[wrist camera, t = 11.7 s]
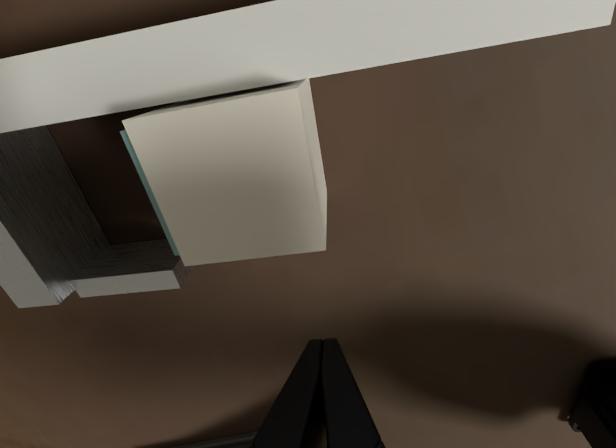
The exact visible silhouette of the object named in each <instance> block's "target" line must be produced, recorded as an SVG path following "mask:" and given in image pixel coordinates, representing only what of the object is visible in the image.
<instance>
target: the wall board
mask: <svg viewBox="0 0 616 448" xmlns="http://www.w3.org/2000/svg"><path fill="white" fill-rule="evenodd" d="M615 2H616V0H275V1H270V2H265V3H261V4H256V5H251V6H247V7H242V8H237V9H233V10H228V11H223V12H219V13H214V14H209V15H204V16H200V17H195V18H190V19H186V20H181V21H176V22H172V23H167V24H162V25H158V26H153V27H148V28H144V29H139V30H134V31H130V32H125V33H120V34H116V35H111V36H106V37H101V38H97V39H92V40H87V41H83V42H78V43H73V44H69V45H64V46H59V47H55V48H50V49H45V50H41V51H36V52H31V53H27V54H22V55H17V56H13V57H8V58H3V59H0V133H4V132H10V131H15V130H21V129H26V128H32V127H38V126H43V125H49V124H55V123H60V122H66V121H71V120H77V119H83V118H88V117H94V116H100V115H105V114H111V113H116V112H122V111H128V110H133V109H139V108H144V107H150V106H156V105H161V104H167V103H173V102H178V101H184V100H189V99H195V98H201V97H206V96H212V95H218V94H223V93H229V92H234V91H240V90H246V89H251V88H257V87H263V86H268V85H274V84H279V83H285V82H291V81H296V80H302V79H308V78H313V77H319V76H324V75H330V74H336V73H341V72H347V71H353V70H358V69H364V68H369V67H375V66H381V65H386V64H392V63H398V62H403V61H409V60H414V59H420V58H426V57H431V56H437V55H443V54H448V53H454V52H459V51H465V50H471V49H476V48H482V47H488V46H493V45H499V44H504V43H510V42H516V41H521V40H527V39H533V38H538V37H544V36H549V35H555V34H561V33H566V32H572V31H578V30H583V29H589V28H594V27H600V26H606V25H610V23H611V19H612V15H613V11H614V6H615Z"/></svg>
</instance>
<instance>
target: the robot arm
mask: <svg viewBox="0 0 616 448" xmlns="http://www.w3.org/2000/svg"><path fill="white" fill-rule="evenodd" d="M569 425H570V426H571V428H572V430H573V431H575V432H582V433H583V435H584V436H585V438H586V439H587V441H588V442H589V444H590V445H591V447H592V448H616V361H601V362H596V363H593V364H592V365H590V367H589V368H588V371H587V374H586V376H585V379H584V382H583V384H582V387H581V390H580V392H579V395H578V398H577V400H576V403H575V406H574V408H573V411H572V414H571V417H570V419H569ZM249 448H385V446H384V444H383V442H382V441H381V437H380V435H379V433H378V430H377V428H376V426H375V424H374V421H373V419H372V417H371V415H370V412H369V410H368V408H367V406H366V403H365V401H364V399H363V397H362V394H361V392H360V390H359V388H358V385H357V383H356V381H355V379H354V376H353V374H352V372H351V370H350V368H349V365H348V363H347V361H346V359H345V356H344V354H343V352H342V350H341V347H340V345H339V343H338V341H337V339H336V338H327V339H324V340H322V339H312V340H310V341H309V342H308V344H307V346H306V347H305V349H304V351H303V353H302V354H301V356H300V358H299V360H298V361H297V363H296V365H295V367H294V368H293V370H292V372H291V374H290V376H289V377H288V379H287V381H286V383H285V384H284V386H283V388H282V390H281V391H280V393H279V395H278V397H277V399H276V400H275V402H274V404H273V406H272V407H271V409H270V411H269V413H268V414H267V416H266V418H265V420H264V422H263V423H262V425H261V427H260V429H259V430H258V432H257V434H256V436H255V437H254V439H253V444H250V446H249Z"/></svg>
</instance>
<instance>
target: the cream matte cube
mask: <svg viewBox="0 0 616 448" xmlns="http://www.w3.org/2000/svg"><path fill="white" fill-rule="evenodd" d="M122 123H123V125H124V127H125V130H123V131H120V133H121V136H122V138H123V140H124V142H125V145H126V147H127V149H128V151H129V154H130V156H131V158H132V160H133V163H134V165H135V167H136V169H137V172H138V174H139V176H140V178H141V181H142V183H143V185H144V187H145V190H146V192H147V194H148V196H149V199H150V201H151V203H152V206H153V208H154V210H155V212H156V215H157V217H158V219H159V221H160V224H161V226H162V228H163V230H164V233H165V235H166V237H167V239H168V242H169V244H170V246H171V248H172V251H173V253H174V255H175V256H177V255H180V257H181V259H182V261H183V263H184V266H192V265H201V264H210V263H218V262H227V261H236V260H245V259H254V258H262V257H271V256H280V255H289V254H298V253H306V252H315V251H324V250H326V219H327V190H326V183H325V177H324V171H323V164H322V158H321V152H320V145H319V139H318V133H317V126H316V120H315V113H314V107H313V101H312V94H311V88H310V82H309V78H308V79H302V80H296V81H291V82H285V83H279V84H274V85H268V86H263V87H257V88H251V89H246V90H240V91H234V92H229V93H223V94H218V95H212V96H206V97H201V98H195V99H189V100H185V101H182V102H179V103H176V104H172V105H169V106H166V107H163V108H160V109H157V110H154V111H150V112H147V113H144V114H141V115H138V116H135V117H132V118H128V119H125V120H122Z"/></svg>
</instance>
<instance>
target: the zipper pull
mask: <svg viewBox="0 0 616 448" xmlns="http://www.w3.org/2000/svg"><path fill="white" fill-rule="evenodd" d="M257 432H258V431H257ZM257 432H251V433H246V434H240V435H235V436H229V437H224V438H218V439H213V440H207V441H202V442H196V443H191V444H185V445H179V446H173V447H167V448H249V446H250V444H253V439H254V437H255V436H256V434H257Z"/></svg>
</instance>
